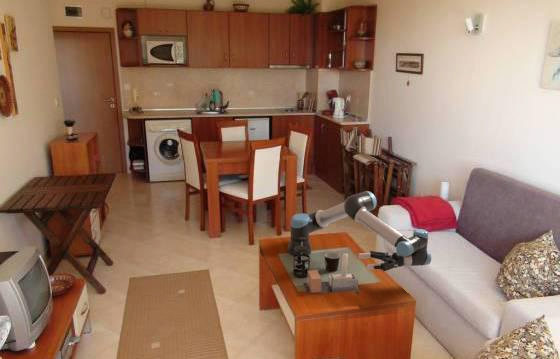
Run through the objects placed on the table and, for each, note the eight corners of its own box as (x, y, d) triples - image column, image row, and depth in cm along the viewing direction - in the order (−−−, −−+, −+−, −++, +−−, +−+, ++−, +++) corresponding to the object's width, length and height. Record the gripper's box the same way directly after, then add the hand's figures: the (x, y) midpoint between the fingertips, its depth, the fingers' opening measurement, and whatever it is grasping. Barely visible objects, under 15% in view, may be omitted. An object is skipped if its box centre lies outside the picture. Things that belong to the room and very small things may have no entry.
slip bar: (328, 281, 236) (329, 253, 232) (350, 280, 238) (351, 252, 234) (330, 285, 232) (331, 256, 228) (352, 284, 234) (353, 255, 230)
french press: (311, 280, 245) (313, 241, 239) (295, 282, 243) (295, 242, 237) (306, 271, 256) (307, 233, 250) (290, 272, 254) (290, 234, 249)
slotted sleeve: (303, 285, 239) (303, 274, 237) (352, 282, 243) (352, 271, 241) (307, 296, 227) (308, 285, 226) (359, 293, 231) (359, 281, 230)
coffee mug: (338, 275, 251) (339, 259, 248) (323, 274, 252) (323, 257, 250) (340, 267, 262) (340, 251, 259) (325, 265, 263) (325, 249, 261)
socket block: (307, 283, 238) (307, 270, 236) (316, 283, 238) (316, 269, 237) (311, 292, 228) (311, 279, 226) (320, 292, 229) (321, 278, 227)
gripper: (411, 276, 226) (370, 278, 223) (391, 256, 250) (355, 258, 247) (412, 262, 224) (371, 264, 221) (392, 243, 248) (355, 245, 245)
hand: (362, 261), depth 234 cm, fingers open, 13 cm apart
